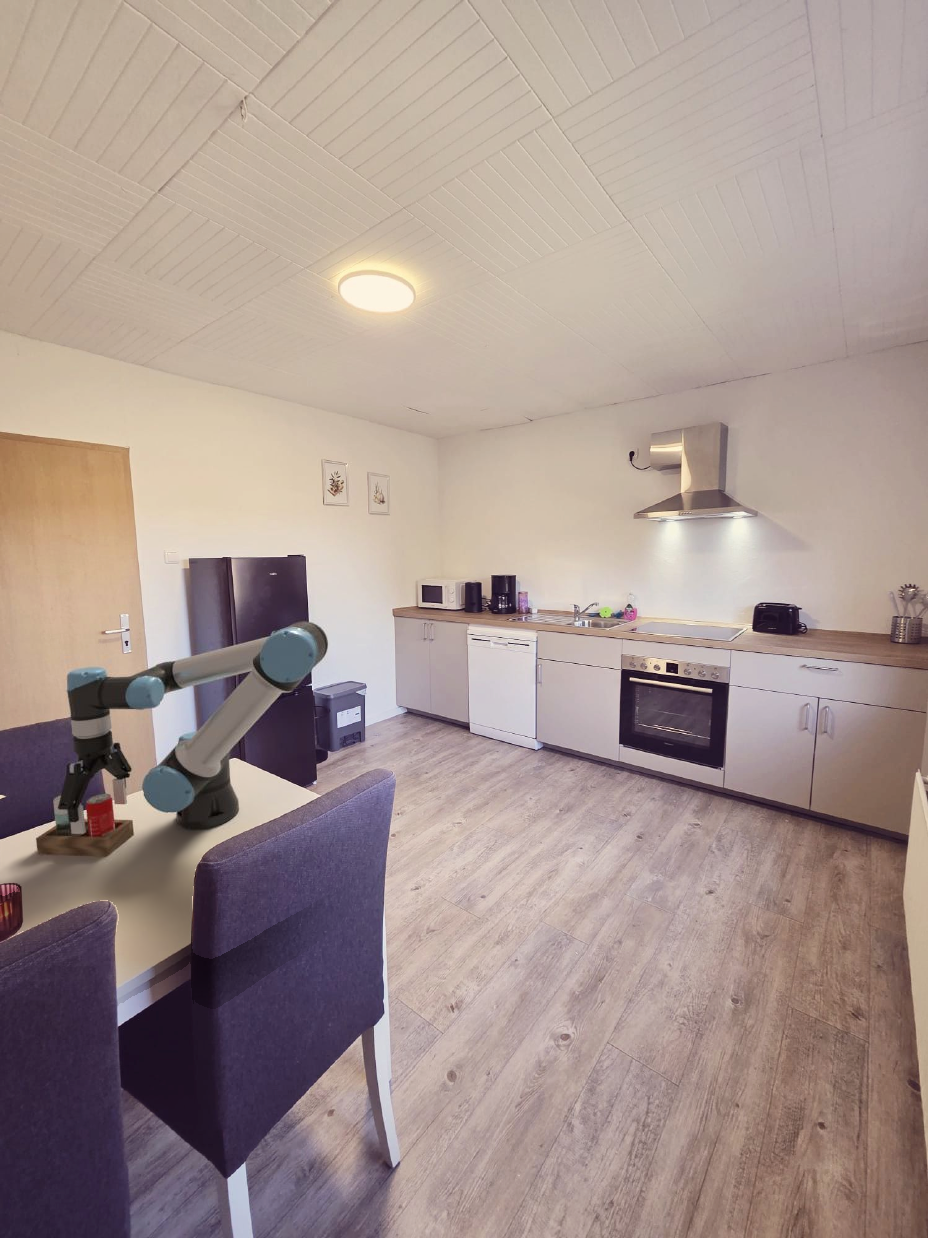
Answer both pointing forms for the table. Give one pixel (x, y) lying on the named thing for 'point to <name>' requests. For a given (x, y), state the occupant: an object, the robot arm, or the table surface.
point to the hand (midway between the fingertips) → (100, 817)
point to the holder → (85, 841)
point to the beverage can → (100, 815)
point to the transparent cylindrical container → (62, 820)
